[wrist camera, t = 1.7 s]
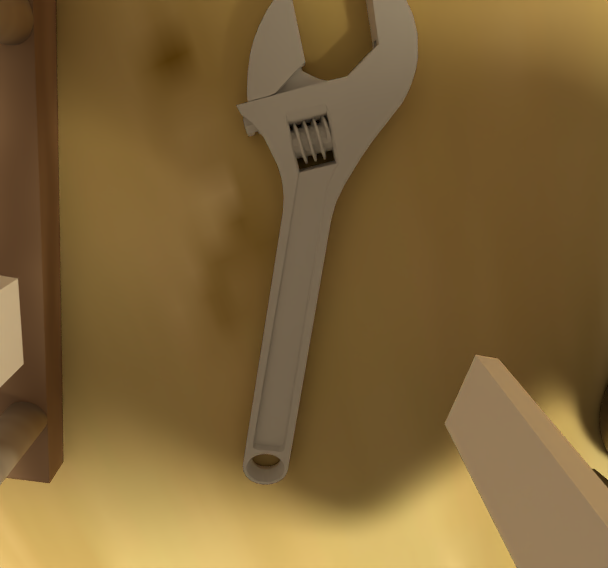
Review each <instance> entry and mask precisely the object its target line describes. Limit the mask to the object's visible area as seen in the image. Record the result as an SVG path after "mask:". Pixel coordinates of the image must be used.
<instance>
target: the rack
mask: <svg viewBox="0 0 608 568" xmlns="http://www.w3.org/2000/svg"><path fill="white" fill-rule="evenodd" d="M0 276H6V277H12V278H18V286H19V301H20V316H21V331H22V346H23V361H24V364H23V365H22V366H21V367H20V368H19V369H18V370H17V371H16V372H15V373H14V374H13V375H12V376H11V377H10V378H9V379H8V380H7V381H6V382H5V383H4V384H3V385H2V386H1V387H0V485H1V484H2V482H3V481H4V480H5V478H12V479H20V480H28V481H36V482H45V483H50V482H51V480H52V479H53V477H54V475H55V474H56V472H57V471H58V469H59V468H60V466H61V465H62V463H63V409H62V348H61V286H60V225H59V163H58V102H57V40H56V0H0Z"/></svg>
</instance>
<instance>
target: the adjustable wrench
mask: <svg viewBox="0 0 608 568" xmlns="http://www.w3.org/2000/svg"><path fill="white" fill-rule="evenodd" d="M366 5H367V12H368V19H369V25H370V32H371V38H372V45H373V49H372V50H371V51H370V52H369V53H368V54H367V55H366V56H365V57H364V58H363V59H362V60H361V62H360V63H359V64H358V65H357V66H356V67H355V68H354V69H353V70H352V71H351V72H350V73H349V74H348V75H347V76H346V77H342V78H337V79H333V80H329V81H326V80H322V79H318V78H316V77H313V76H311V75H309V74H307V73H305V72H303V71H302V67H303V66H304V65H305V58H304V53H303V48H302V43H301V39H300V34H299V29H298V24H297V20H296V15H295V10H294V6H293V1H292V0H273V2H272V3H271V5H270V6H269V8H268V9H267V11H266V13H265V15H264V17H263V19H262V21H261V23H260V25H259V27H258V30H257V32H256V35H255V38H254V41H253V45H252V48H251V52H250V58H249V67H248V78H247V100H248V102H246V103H243V104H239V105H236V106H237V108H238V110H239V112H240V114H241V115H242V116H243V121H244V125H245V129H246V132H247V135H248V137H249V136H253V135H255V132H258V133H259V134H261V135H262V136H263V137H264V139H265V141H266V143H267V145H268V147H269V149H270V151H271V153H272V155H273V157H274V159H275V161H276V163H277V165H278V169H279V172H280V175H281V179H282V185H283V195H284V200H283V214H282V220H281V226H280V233H279V239H278V245H277V252H276V258H275V264H274V271H273V277H272V283H271V290H270V296H269V302H268V309H267V315H266V321H265V328H264V334H263V340H262V347H261V353H260V359H259V366H258V372H257V378H256V385H255V391H254V397H253V404H252V410H251V416H250V423H249V429H248V435H247V442H246V448H245V455H244V462H243V472H244V474H245V475H246V477H247V478H248V479H250V480H251V481H253V482H255V483H258V484H273V483H277V482H278V481H280V480H282V479H283V478H284V477H285V476H286V474H287V471H288V467H289V461H290V455H291V449H292V443H293V438H294V432H295V426H296V420H297V415H298V409H299V403H300V397H301V391H302V386H303V380H304V374H305V368H306V363H307V357H308V351H309V345H310V340H311V334H312V328H313V322H314V316H315V311H316V305H317V299H318V293H319V288H320V282H321V276H322V270H323V265H324V259H325V253H326V247H327V241H328V236H329V230H330V224H331V219H332V215H333V212H334V208H335V205H336V202H337V200H338V198H339V195H340V193H341V191H342V189H343V187H344V185H345V183H346V182H347V180H348V178H349V177H350V175H351V174H352V172H353V170H354V169H355V167H356V165H357V164H358V162H359V160H360V159H361V157H362V156H363V154H364V153H365V151H366V150H367V149H368V147H369V146H370V144H371V143H372V141H373V140H374V139H375V138H376V136H377V135H378V134H379V132H380V131H381V130H382V128H383V127H384V126H385V125H386V123H387V122H388V121H389V119H390V118H391V117H392V116H393V114H394V113H395V112H396V110H397V109H398V108H399V107H400V105H401V104H402V103H403V101H404V99H405V97H406V95H407V93H408V91H409V89H410V86H411V84H412V81H413V78H414V74H415V71H416V67H417V60H418V33H417V29H416V25H415V21H414V17H413V14H412V11H411V9H410V7H409V5H408V3H407V1H406V0H366ZM325 118H326V120H327V122H326V120H325ZM317 120H320V123H318V124H316V121H317ZM308 122H311V125H309V126H307V125H306V123H308ZM300 124H301V127H300V128H297V126H296V125H300ZM290 127H292V130H290ZM331 150H332V152H333V157H334V161H330V162H326V163H322V164H318V165H314V166H310V167H306V168H302V169H299V166H298V162H297V159H298V158H302V157H303V159H304V161H305V163H306V164H308V156H311V155H312V156H313V159H314V161H315V162H316V161H317V154H319V153H321V154H322V156H323V158H324V159H326V152H327V151H331ZM260 454H270V455H274V456H276V457H278V458H279V459H280V461H279V462H278V463H277V464H275V465H272V466H261V465H258V464H256V463H255V462H254V461H253V460H252V458H253V457H254V456H257V455H260Z"/></svg>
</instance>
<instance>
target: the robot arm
mask: <svg viewBox="0 0 608 568" xmlns="http://www.w3.org/2000/svg"><path fill="white" fill-rule="evenodd" d="M23 364H24V361H23V346H22V331H21V316H20V301H19V286H18V278H12V277H6V276H0V387H1V386H2V385H3V384H4V383H5V382H6V381H7V380H8V379H9V378H10V377H11V376H12V375H13V374H14V373H15V372H16V371H17V370H18V369H19V368H20V367H21V366H22V365H23ZM445 426H446V428H447V430H448V432H449V434H450V436H451V438H452V440H453V442H454V444H455V446H456V448H457V450H458V452H459V454H460V456H461V458H462V460H463V462H464V464H465V466H466V468H467V470H468V472H469V474H470V476H471V478H472V480H473V482H474V484H475V486H476V488H477V490H478V492H479V494H480V496H481V498H482V500H483V502H484V504H485V506H486V508H487V510H488V512H489V514H490V516H491V518H492V520H493V522H494V524H495V526H496V528H497V530H498V532H499V534H500V536H501V538H502V540H503V542H504V544H505V546H506V547H507V549H508V551H509V553H510V555H511V557H512V559H513V561H514V563H515V565H516V567H517V568H608V480H607V479H606V478H605V477H604V476H602V475H601V474H600V473H599V472H598V471H596V470H595V469H591V468H590V466H589V465H588V464H587V463H586V462H585V460H584V459H583V458H582V457H581V456H580V454H579V453H578V452H577V451H576V450H575V449H574V447H573V446H572V445H571V444H570V443H569V441H568V440H567V439H566V438H565V437H564V436H563V434H562V433H561V432H560V431H559V430H558V428H557V427H556V426H555V425H554V424H553V422H552V421H551V420H550V419H549V418H548V417H547V415H546V414H545V413H544V412H543V411H542V409H541V408H540V407H539V406H538V405H537V404H536V402H535V401H534V400H533V399H532V398H531V396H530V395H529V394H528V393H527V392H526V391H525V389H524V388H523V387H522V386H521V385H520V383H519V382H518V381H517V380H516V379H515V377H514V376H513V375H512V374H511V373H510V372H509V370H508V369H507V368H506V367H505V366H504V364H503V363H502V362H501V361H500V360H499V359H498V358H493V357H487V356H481V355H475V357H474V359H473V361H472V364H471V366H470V368H469V370H468V372H467V375H466V377H465V379H464V381H463V384H462V386H461V388H460V390H459V392H458V395H457V397H456V399H455V401H454V404H453V406H452V408H451V410H450V413H449V415H448V417H447V419H446V421H445ZM600 432H601V436H602V440H603V443H604V445H605V448H606V450H607V451H608V386H607V388H606V391H605V394H604V397H603V401H602V405H601V411H600Z"/></svg>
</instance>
